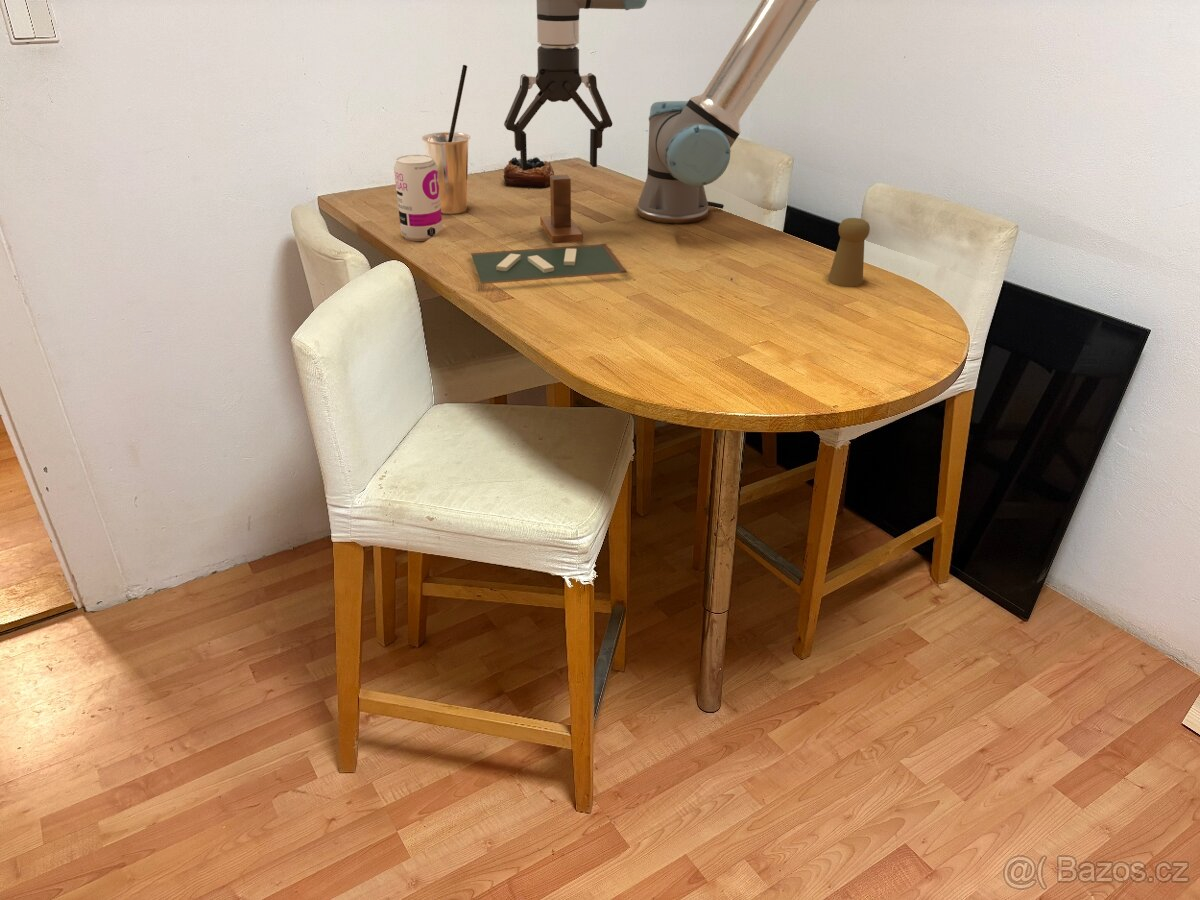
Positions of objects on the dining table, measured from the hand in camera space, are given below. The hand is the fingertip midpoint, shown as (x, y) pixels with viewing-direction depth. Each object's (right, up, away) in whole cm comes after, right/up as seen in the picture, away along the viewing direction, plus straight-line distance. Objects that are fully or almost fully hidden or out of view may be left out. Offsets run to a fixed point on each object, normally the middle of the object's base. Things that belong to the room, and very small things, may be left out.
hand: (558, 167), depth 166 cm
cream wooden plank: (-3, -21, -10) cm, 24 cm away
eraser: (0, -12, +7) cm, 14 cm away
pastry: (-9, +10, +43) cm, 45 cm away
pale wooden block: (+2, -19, -7) cm, 20 cm away
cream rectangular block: (-9, -21, -10) cm, 24 cm away
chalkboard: (-2, -21, -8) cm, 23 cm away
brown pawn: (+52, -24, -11) cm, 58 cm away
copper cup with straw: (-24, -2, +22) cm, 33 cm away
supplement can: (-28, -11, +8) cm, 31 cm away
